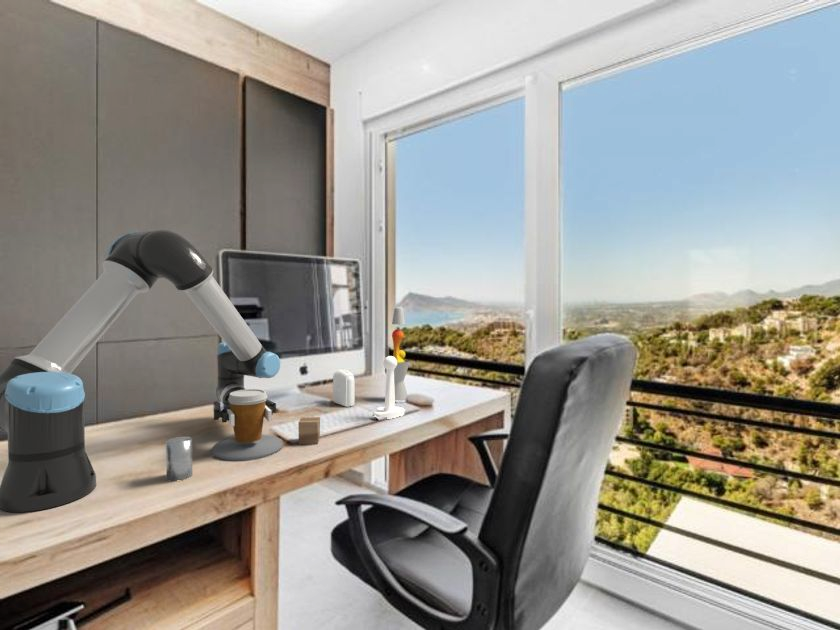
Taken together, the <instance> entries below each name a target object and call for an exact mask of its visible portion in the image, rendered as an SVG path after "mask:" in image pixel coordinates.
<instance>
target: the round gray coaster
mask: <svg viewBox="0 0 840 630" xmlns="http://www.w3.org/2000/svg"><path fill="white" fill-rule="evenodd" d="M283 442H284V441H283V440H282V438H279V437H277V436H274V435H270V434H262V436H261V439H260V440H258V441H254V442H249V443H240V442H237V441H235V436H234V437H230V438H227V439H224V440H221V441H218V442H217V443H215V444H214V445H213V446H212V447H211V455H212V456H213V457H214V458H216V459H219V460H222V461H230V462H243V461H244V462H245V461H251V460H253V459H254V460H259V459H263V457H264V458H266V456H267V457H270V456H273V455H275V454H277V453H278V451H279V452H280V451H281V450H283V447H284V443H283ZM274 453H275V454H274ZM272 454H273V455H272ZM269 455H270V456H269Z"/></svg>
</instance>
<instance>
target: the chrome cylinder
mask: <svg viewBox="0 0 840 630" xmlns="http://www.w3.org/2000/svg"><path fill="white" fill-rule="evenodd" d="M165 447H166V448H165V455H166V456H165V458H166V459H165V460H166V461H165V462H166V465H165V466H166V467H165V468H166V471H165V472H166V480H167V481H169V480H170V482H178V481H177V480H181V481H184V480H183V479H185V480H188V479H190V478H192V477H193V438H192V437H190V436H177V437H173V438H169V439H167V440H166V441H165ZM189 477H190V478H189ZM187 478H188V479H187Z"/></svg>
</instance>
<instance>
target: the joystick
mask: <svg viewBox="0 0 840 630" xmlns="http://www.w3.org/2000/svg"><path fill="white" fill-rule="evenodd" d="M383 366H384V368H385V370H386V376H385V378H386V379H385V391H384V393H385V394H384V406H379V407H377V408H376V411H372V415H373V414H374V415H376V416H377V417H387V419H391V420H393V419H392V418H395V419H397V418H396V417H399V416H401V417H403V415H404V416H405V408H404V407H400V406H396V403H395V389H394V369H395V368H396V366H397V360H396V358H395V357H393V355H388V356H386V357H385V358H384V359H383ZM399 418H400V417H399Z"/></svg>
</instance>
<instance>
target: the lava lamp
mask: <svg viewBox="0 0 840 630" xmlns="http://www.w3.org/2000/svg"><path fill="white" fill-rule="evenodd" d="M391 325H397V326H398V325H400V326H401V325H406V322H405V314H404V308H403V307H401V306H400V307H394V309H393V315H392V321H391ZM404 335H405V334H404V332H403V330H401V329H395V330H393V332H392V333H391V338H392V343H393V354H392V356H393V357H395V358H396V360H397V366H396V368H395V369H394V389H395V400H404V399H405V398H406V396H408V397H409V395H408V393H407V388H406V386H405V382H404V381H405V377H406V375H407V372H408V369H409V365H410V363H411V360H408V359H405V357H406V352H405V350H403V349H400V345H401V342H402V341H403V339H404Z"/></svg>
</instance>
